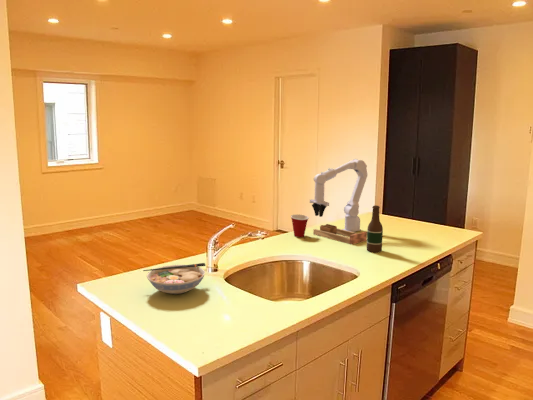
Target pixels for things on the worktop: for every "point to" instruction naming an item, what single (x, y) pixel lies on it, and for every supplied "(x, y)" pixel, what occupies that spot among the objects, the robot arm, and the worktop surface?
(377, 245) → the beer bottle
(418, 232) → the worktop surface
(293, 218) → the plastic cup
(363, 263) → the worktop surface
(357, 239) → the bay
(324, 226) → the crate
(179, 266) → the ramen bowl
